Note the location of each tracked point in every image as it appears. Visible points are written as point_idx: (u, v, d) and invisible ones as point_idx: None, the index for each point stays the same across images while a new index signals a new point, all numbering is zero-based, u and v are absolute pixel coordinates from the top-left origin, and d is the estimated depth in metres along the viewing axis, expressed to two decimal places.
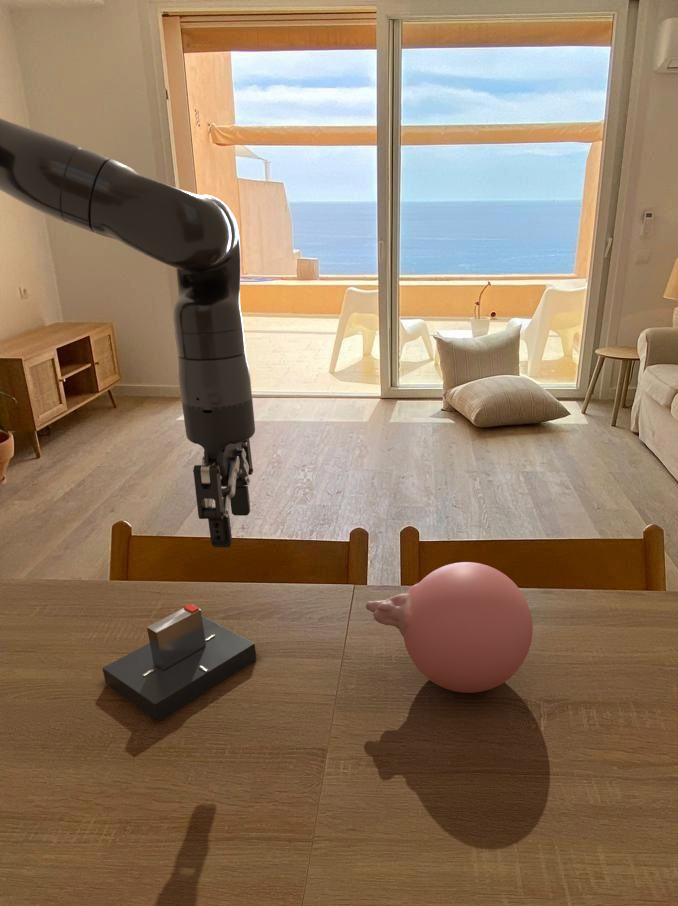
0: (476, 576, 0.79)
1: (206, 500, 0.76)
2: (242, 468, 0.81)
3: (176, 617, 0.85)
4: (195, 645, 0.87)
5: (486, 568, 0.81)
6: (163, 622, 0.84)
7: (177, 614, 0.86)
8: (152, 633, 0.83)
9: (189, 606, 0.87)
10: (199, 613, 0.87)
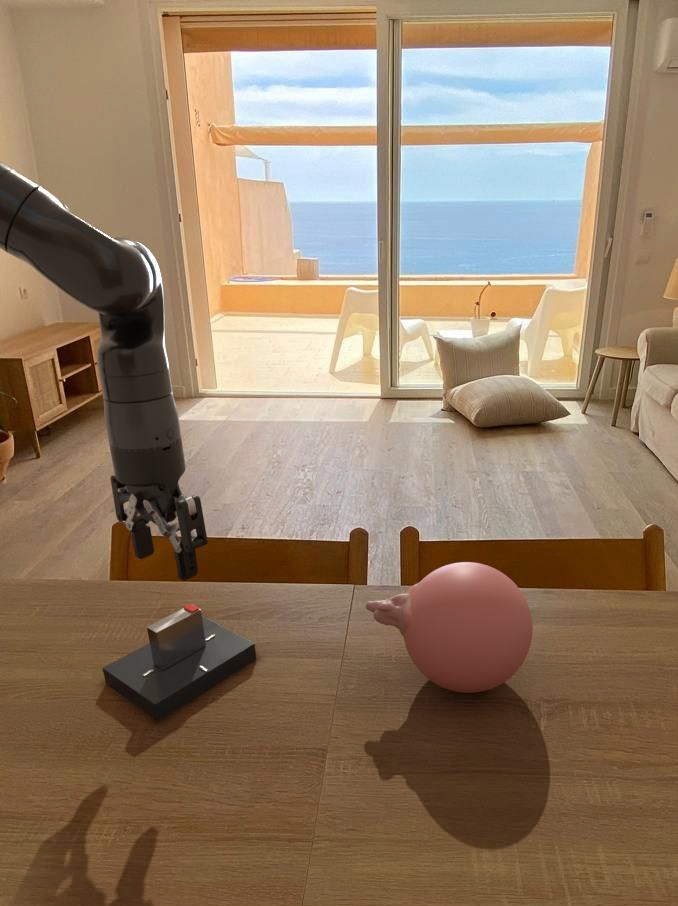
0: (476, 576, 0.79)
1: (175, 536, 0.76)
2: None
3: (176, 617, 0.85)
4: (195, 645, 0.87)
5: (486, 568, 0.81)
6: (163, 622, 0.84)
7: (177, 614, 0.86)
8: (152, 633, 0.83)
9: (189, 606, 0.87)
10: (199, 613, 0.87)
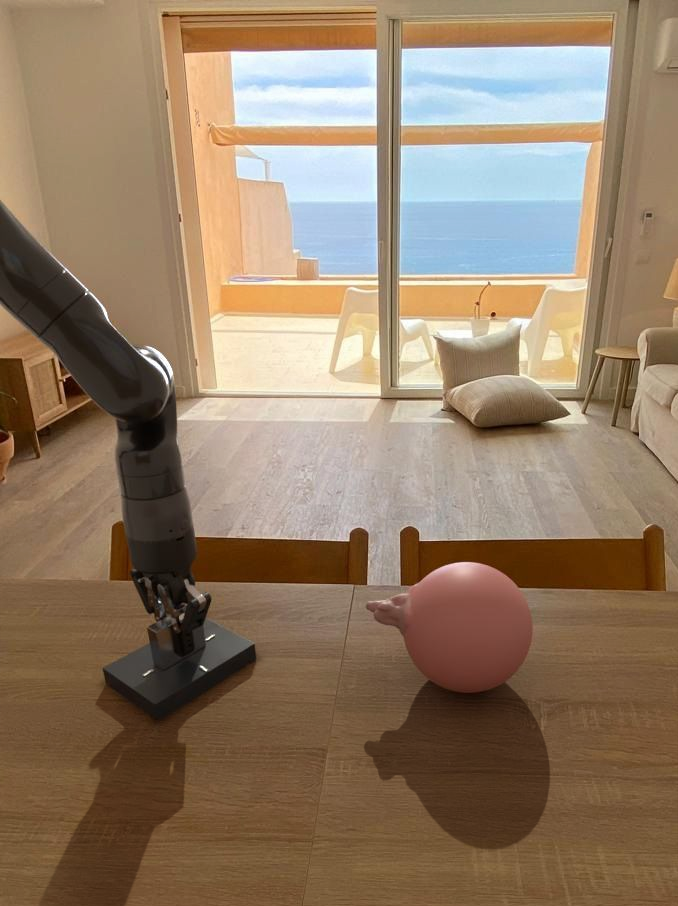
0: (476, 576, 0.79)
1: (177, 621, 0.83)
2: None
3: None
4: (195, 645, 0.87)
5: (486, 568, 0.81)
6: (163, 622, 0.84)
7: None
8: (152, 633, 0.83)
9: None
10: None
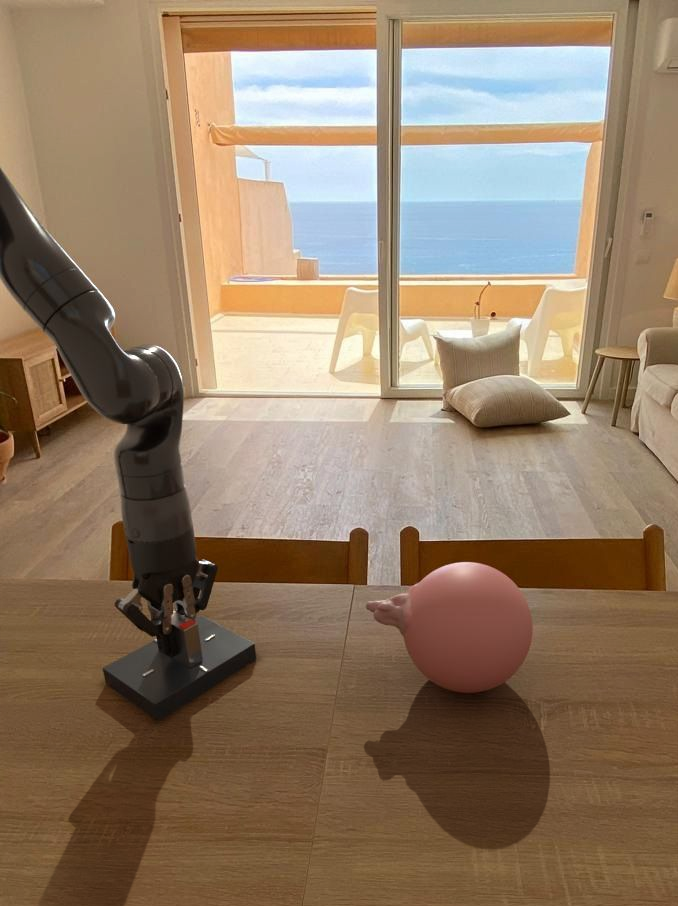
0: (476, 576, 0.79)
1: (151, 616, 0.84)
2: (183, 595, 0.83)
3: (175, 618, 0.85)
4: (181, 657, 0.85)
5: (486, 568, 0.81)
6: None
7: (179, 618, 0.85)
8: None
9: (189, 622, 0.84)
10: (182, 633, 0.83)
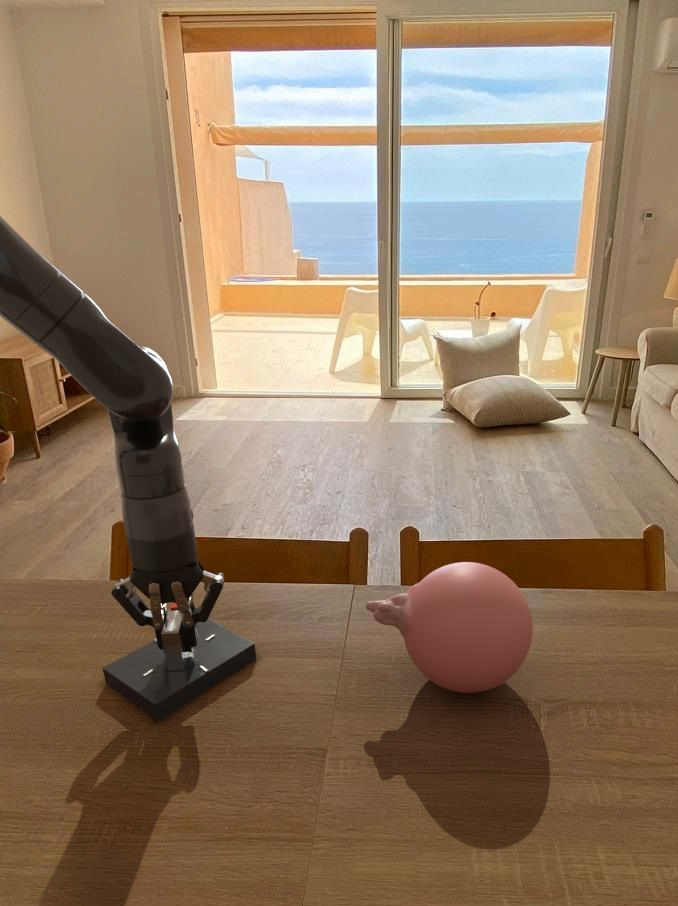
0: (476, 576, 0.79)
1: (191, 614, 0.84)
2: None
3: (175, 616, 0.85)
4: None
5: (486, 568, 0.81)
6: (170, 624, 0.84)
7: (173, 615, 0.86)
8: (171, 636, 0.82)
9: (174, 605, 0.87)
10: None
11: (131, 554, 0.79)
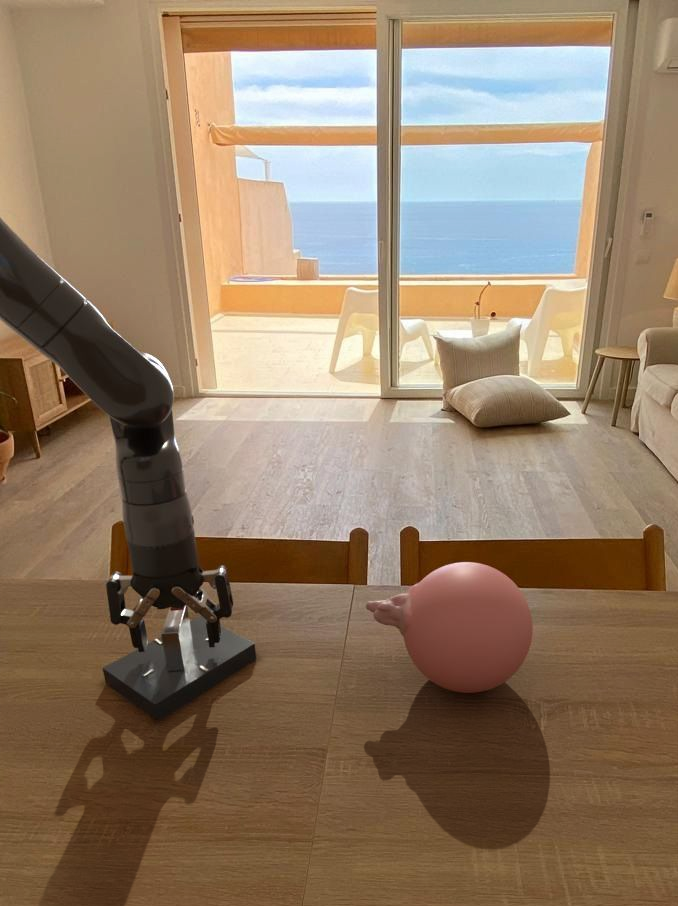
0: (476, 576, 0.79)
1: (209, 609, 0.84)
2: None
3: (175, 616, 0.85)
4: (189, 640, 0.88)
5: (486, 568, 0.81)
6: (170, 624, 0.84)
7: (173, 615, 0.86)
8: (171, 636, 0.82)
9: None
10: None
11: (132, 559, 0.79)
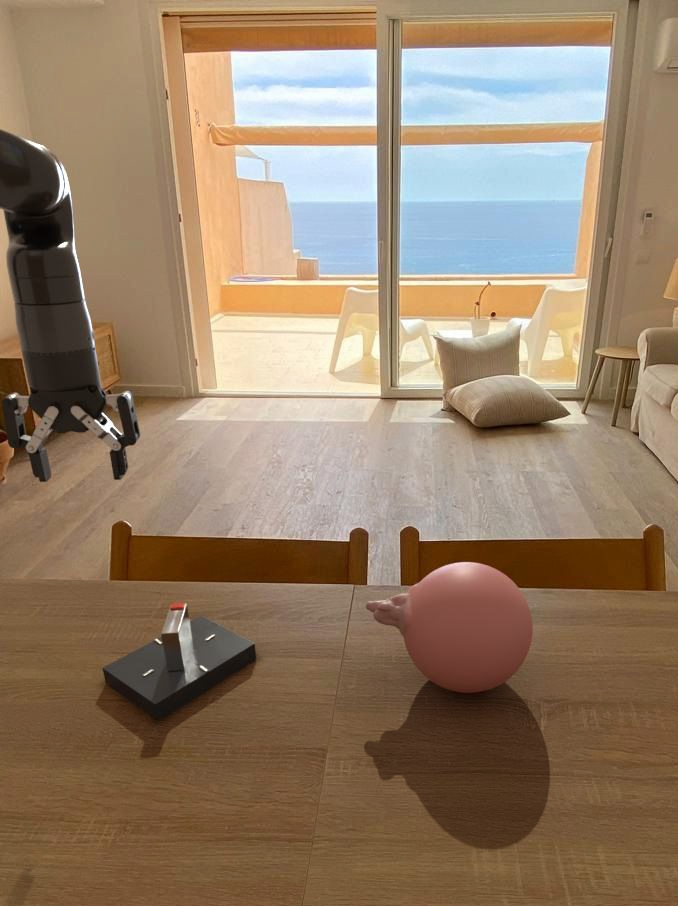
0: (476, 576, 0.79)
1: (112, 435, 0.81)
2: None
3: (175, 616, 0.85)
4: (189, 640, 0.88)
5: (486, 568, 0.81)
6: (170, 624, 0.84)
7: (173, 615, 0.86)
8: (171, 636, 0.82)
9: (174, 605, 0.87)
10: None
11: (26, 371, 0.76)
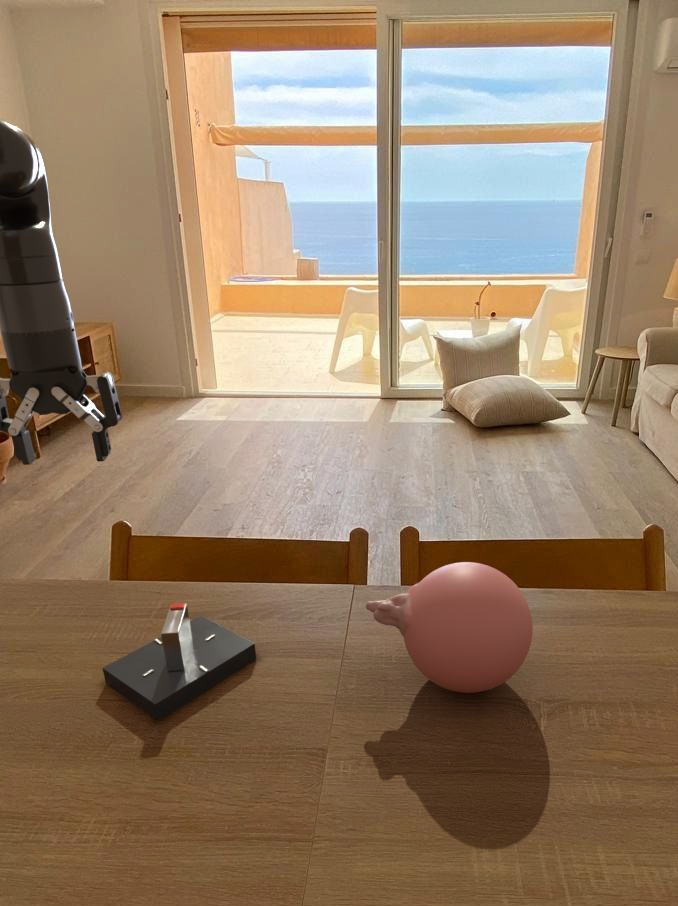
0: (476, 576, 0.79)
1: (94, 416, 0.81)
2: None
3: (175, 616, 0.85)
4: (189, 640, 0.88)
5: (486, 568, 0.81)
6: (170, 624, 0.84)
7: (173, 615, 0.86)
8: (171, 636, 0.82)
9: (174, 605, 0.87)
10: None
11: (6, 353, 0.76)
